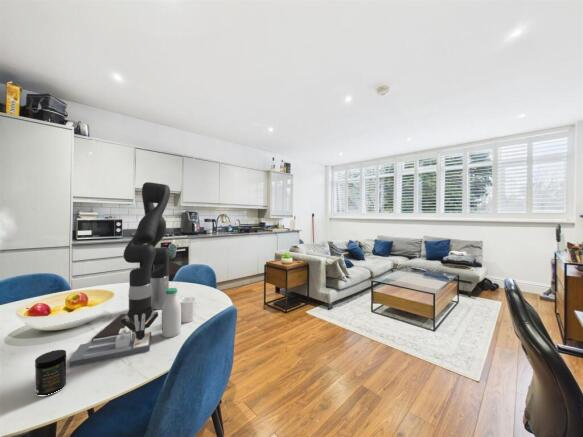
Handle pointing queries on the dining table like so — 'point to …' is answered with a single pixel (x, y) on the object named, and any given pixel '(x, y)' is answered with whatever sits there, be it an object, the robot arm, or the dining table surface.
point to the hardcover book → (115, 327)
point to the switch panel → (108, 349)
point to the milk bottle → (171, 314)
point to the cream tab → (125, 331)
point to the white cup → (187, 309)
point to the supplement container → (50, 372)
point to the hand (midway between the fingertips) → (140, 338)
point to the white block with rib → (122, 341)
